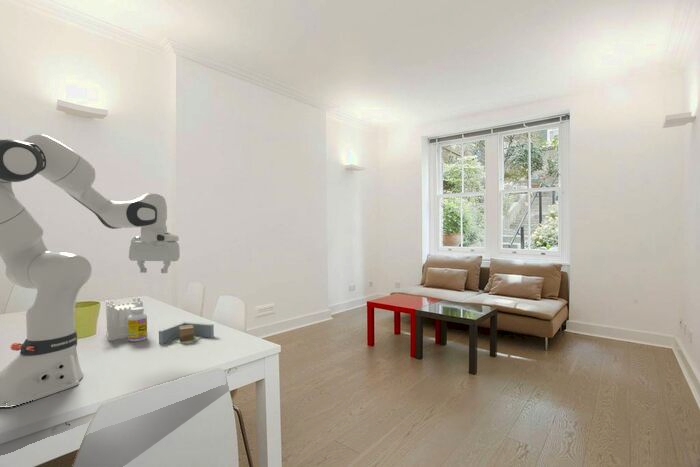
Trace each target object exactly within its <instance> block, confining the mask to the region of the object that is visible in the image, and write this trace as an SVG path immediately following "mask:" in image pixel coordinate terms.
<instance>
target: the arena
mask: <svg viewBox="0 0 700 467" xmlns="http://www.w3.org/2000/svg"><path fill="white" fill-rule="evenodd" d="M185 325H193V328H194V340H190V341H183V342H180V333H179V326H185ZM214 328H215V325H214V324H213V323H205V322H204V323H203V322H202V323H201V322H191V321H183V322H180V323H176V324H174V325H172V326H168V327H166V328H163V329H161V330H158V344H161V345H163V344H166V343H168V342H171V343H175V344H184V345H188V344H191V343H193V342H195V341H198V340H200V339H202V338H203V337H204V338H213V337H214V336H215V331H214Z"/></svg>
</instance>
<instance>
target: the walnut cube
mask: <svg viewBox="0 0 700 467" xmlns="http://www.w3.org/2000/svg"><path fill="white" fill-rule="evenodd" d="M179 333H180V337H179V338H180V342H183V341H190V340H194V328H193V325H185V326H179Z"/></svg>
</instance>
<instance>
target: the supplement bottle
mask: <svg viewBox="0 0 700 467" xmlns="http://www.w3.org/2000/svg"><path fill="white" fill-rule="evenodd" d="M144 311H145V308H144V306H143V307H136V308H132V309H131V315H130V316H129V317H128V341H129V342H131V343H132V342H133V343H134V342H135V343H136V342H143V341H145V340H147V339H148V316H147V313H144Z"/></svg>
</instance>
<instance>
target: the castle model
mask: <svg viewBox="0 0 700 467" xmlns="http://www.w3.org/2000/svg"><path fill="white" fill-rule="evenodd" d="M136 307H143V308H144V302H143V300H141V297H140V296H134V297H132V302H126V303H125V302H124V303H122V304H120V303H117V305H116V304H115V303H114V300H113V299H110V300H105V311H106V312H105V313H106V331H105V332H106V338H107V341H108V342H109V341H115V340H116V341H117V340H121V339H127V338H128V317H129V316H130V315H131V309H132V308H136Z"/></svg>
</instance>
